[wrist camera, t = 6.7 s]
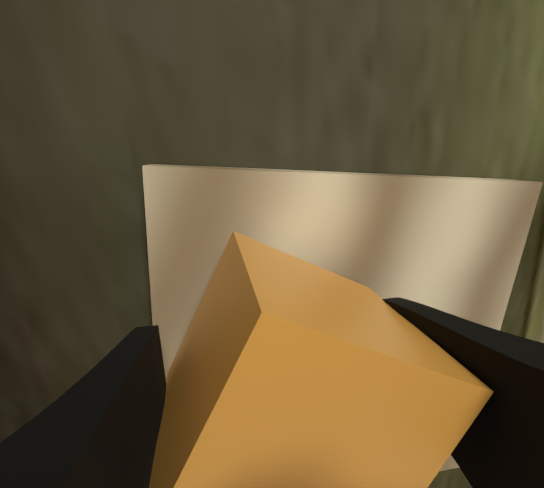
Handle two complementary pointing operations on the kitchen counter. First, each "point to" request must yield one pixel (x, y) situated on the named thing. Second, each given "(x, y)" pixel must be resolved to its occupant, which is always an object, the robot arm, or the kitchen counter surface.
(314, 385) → the tilted amber cube
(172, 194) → the board
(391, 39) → the kitchen counter surface
